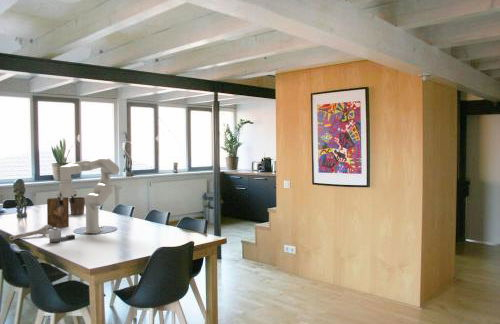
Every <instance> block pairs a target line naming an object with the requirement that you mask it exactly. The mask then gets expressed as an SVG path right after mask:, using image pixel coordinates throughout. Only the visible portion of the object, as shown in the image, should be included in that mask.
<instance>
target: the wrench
mask: <svg viewBox="0 0 500 324" xmlns="http://www.w3.org/2000/svg"><path fill="white" fill-rule="evenodd" d="M49 227H50V228H49ZM48 228H49V229H52V226H50V225H47V224H46V225H44V226H42V227H41V228H39V229H36V230H33V231H28V232H23V233H19V234H14V235H10V236H9V238H8V239H9V241H15V240H17V239H22V238H27V237H31V236H34V235H42V236H43V237H44V236H46V235H49V230H47V229H48ZM11 238H12V239H11Z"/></svg>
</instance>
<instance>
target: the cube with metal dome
mask: <svg viewBox="0 0 500 324" xmlns="http://www.w3.org/2000/svg"><path fill="white" fill-rule="evenodd" d="M48 231H49V234H48V239H49V240H50V239H58V238H61V237H62V229H61V228H57V227H55V228H49V229H48Z"/></svg>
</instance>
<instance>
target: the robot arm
mask: <svg viewBox="0 0 500 324" xmlns="http://www.w3.org/2000/svg"><path fill="white" fill-rule="evenodd" d="M97 169H100V175H101V176H100V177H101V178H100V179H99V181H98V182H97V183H96V185H95V186H94V188H93V193H92V192H91V193H88V194H85V197H84V198H85V205H84V206H85V221H86V223H85V225H86V227H85V230H84V231H83V232H84V234H88V233H92V234H98V233H101V231H102V230H101V229H104V228H105V227H104V225H99V224H100V223H99V219H100V217H99V207H102V206H104V205H105V203H106V202H107V201H108V199H109V198H110V197H111V195H112V193H113V189H114V188H113V186H112V185H111V181H112V179H111V176H116V175H118V174H119V172H120V167H119V166H118V164H117V163H116V162H114V161H113V160H111V159H110V158H108V157H95V158H91V159H90V158H89V159H87V160H80V161H75V162H71V163H67V164H64V165H61V166H60V167H59V178H60V179H59V180H60V184H59V186H58V193H57V194H55V198H57V199H58V200H59V204H60V205H63V200H62V199H63V197H68V198H71V203H75V197H77V194H78V191H77V190H75V189H74V185H73V183H72V182H73V179H72V175H79V174H81V172H89V171H93V170H97Z"/></svg>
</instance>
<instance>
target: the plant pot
mask: <svg viewBox="0 0 500 324" xmlns="http://www.w3.org/2000/svg"><path fill="white" fill-rule="evenodd" d="M71 198H72V197H68V203H69V208H70V215H75V216H76V215H77V216H79V215H84V213H85V206H86V205H85V197H81V196H75V203H71Z"/></svg>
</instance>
